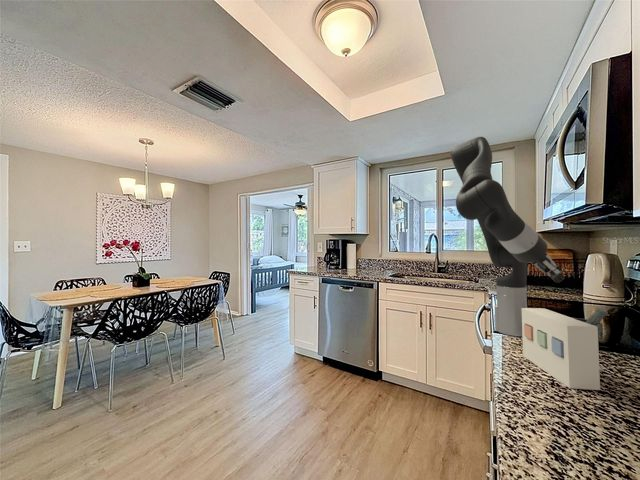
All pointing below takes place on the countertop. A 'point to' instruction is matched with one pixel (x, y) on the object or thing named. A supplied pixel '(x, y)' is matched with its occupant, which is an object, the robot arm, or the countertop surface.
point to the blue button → (557, 346)
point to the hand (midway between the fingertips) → (559, 279)
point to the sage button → (542, 338)
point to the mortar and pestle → (596, 319)
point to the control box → (578, 348)
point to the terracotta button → (528, 331)
